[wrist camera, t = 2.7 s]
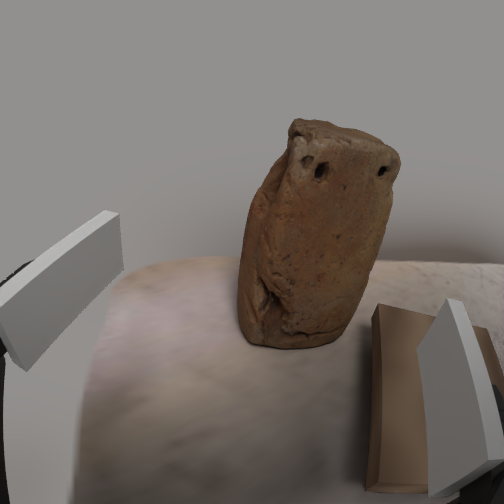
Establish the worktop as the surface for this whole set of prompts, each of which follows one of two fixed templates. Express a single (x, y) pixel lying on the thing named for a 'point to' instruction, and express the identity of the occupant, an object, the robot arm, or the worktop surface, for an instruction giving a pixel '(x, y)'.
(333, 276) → the block
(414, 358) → the slab
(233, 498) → the worktop surface
